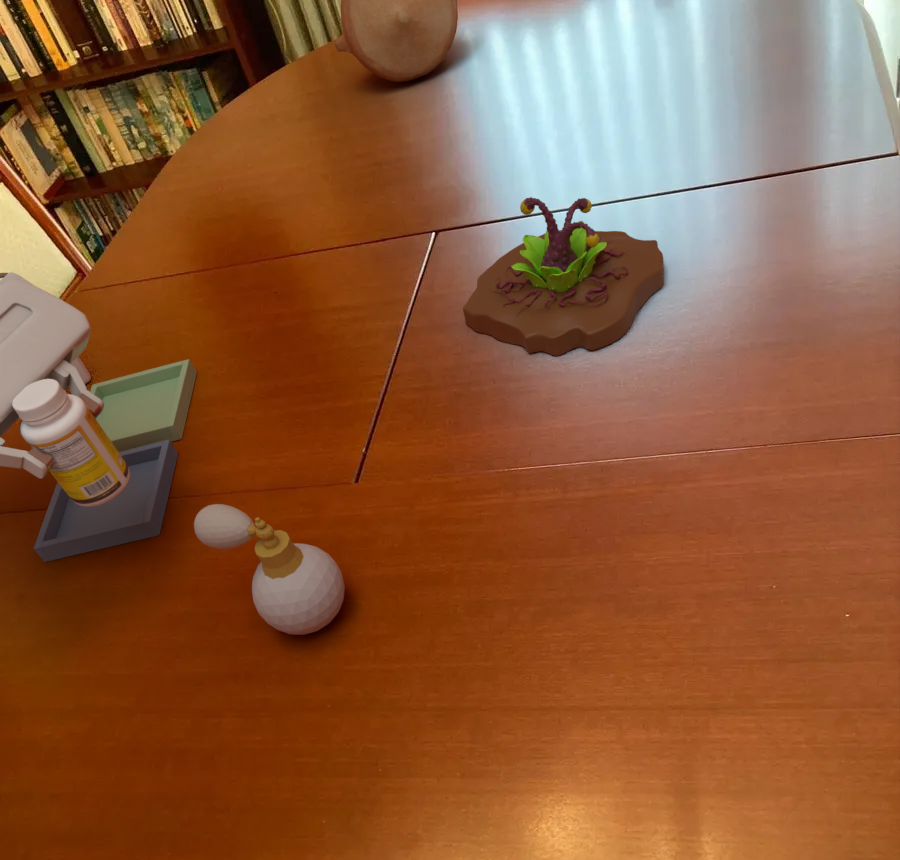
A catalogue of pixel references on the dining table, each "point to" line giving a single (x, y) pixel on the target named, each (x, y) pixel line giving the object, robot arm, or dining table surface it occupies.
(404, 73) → the jug
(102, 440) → the supplement bottle
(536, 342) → the plant
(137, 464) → the blue tray
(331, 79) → the dining table surface
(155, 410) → the green tray
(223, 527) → the perfume bottle
